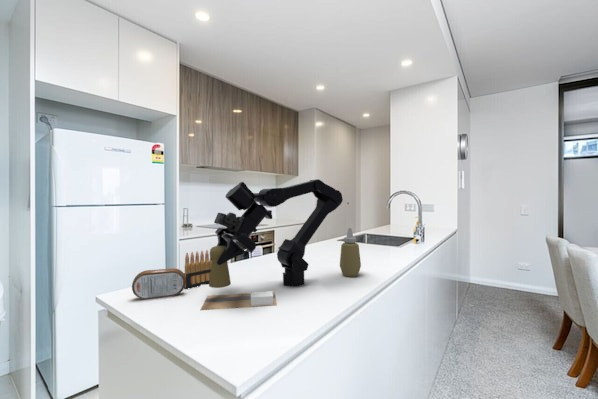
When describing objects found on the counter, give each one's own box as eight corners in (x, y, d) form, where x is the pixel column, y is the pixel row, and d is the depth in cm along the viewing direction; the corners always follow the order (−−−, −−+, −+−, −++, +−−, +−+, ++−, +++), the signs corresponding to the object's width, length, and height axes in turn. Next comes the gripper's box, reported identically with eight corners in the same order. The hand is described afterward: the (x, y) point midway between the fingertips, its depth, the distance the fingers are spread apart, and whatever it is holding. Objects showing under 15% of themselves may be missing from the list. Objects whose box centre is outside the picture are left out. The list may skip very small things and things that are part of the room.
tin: (186, 292, 93) (185, 266, 93) (186, 295, 90) (185, 268, 90) (133, 298, 88) (132, 271, 87) (131, 302, 85) (130, 273, 85)
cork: (215, 280, 86) (214, 244, 86) (234, 281, 85) (233, 244, 85) (204, 287, 80) (203, 247, 80) (224, 288, 79) (223, 248, 79)
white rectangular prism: (272, 299, 82) (272, 291, 82) (273, 304, 78) (273, 296, 78) (251, 300, 81) (251, 292, 81) (250, 306, 77) (250, 297, 77)
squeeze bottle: (364, 273, 112) (363, 227, 112) (356, 279, 105) (356, 230, 105) (344, 271, 116) (343, 226, 116) (336, 276, 109) (335, 228, 109)
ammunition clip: (185, 289, 96) (185, 253, 96) (183, 288, 97) (183, 252, 97) (215, 282, 103) (215, 249, 103) (213, 281, 104) (212, 248, 104)
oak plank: (274, 295, 89) (274, 291, 89) (277, 309, 78) (277, 305, 78) (207, 299, 86) (207, 295, 86) (200, 314, 75) (200, 310, 75)
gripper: (220, 202, 92) (185, 240, 86) (244, 203, 76) (203, 249, 71) (244, 224, 97) (212, 262, 91) (270, 230, 81) (234, 276, 75)
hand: (214, 262), depth 82 cm, fingers closed on cork, 5 cm apart
